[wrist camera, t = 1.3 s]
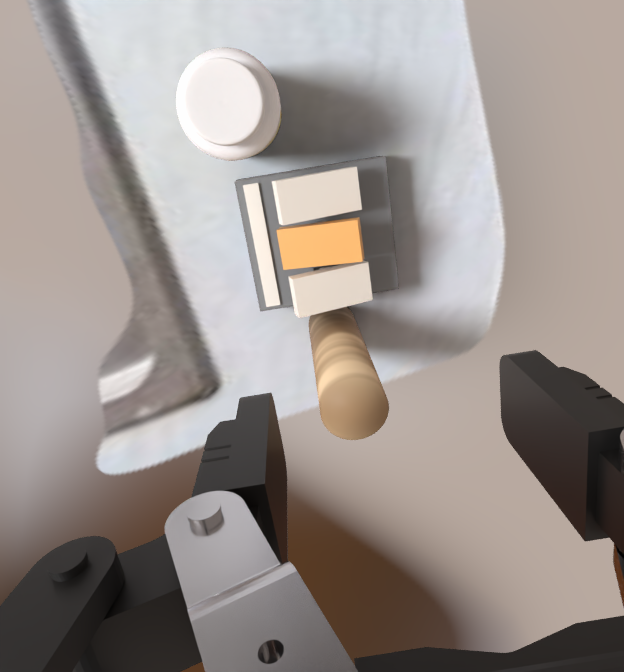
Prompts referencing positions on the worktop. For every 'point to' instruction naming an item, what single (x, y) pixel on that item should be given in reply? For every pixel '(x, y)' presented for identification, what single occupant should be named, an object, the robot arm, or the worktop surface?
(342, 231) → the paddle middle
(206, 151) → the supplement bottle
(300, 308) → the paddle near post
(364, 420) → the pine post
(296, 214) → the paddle near bottle
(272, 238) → the board
